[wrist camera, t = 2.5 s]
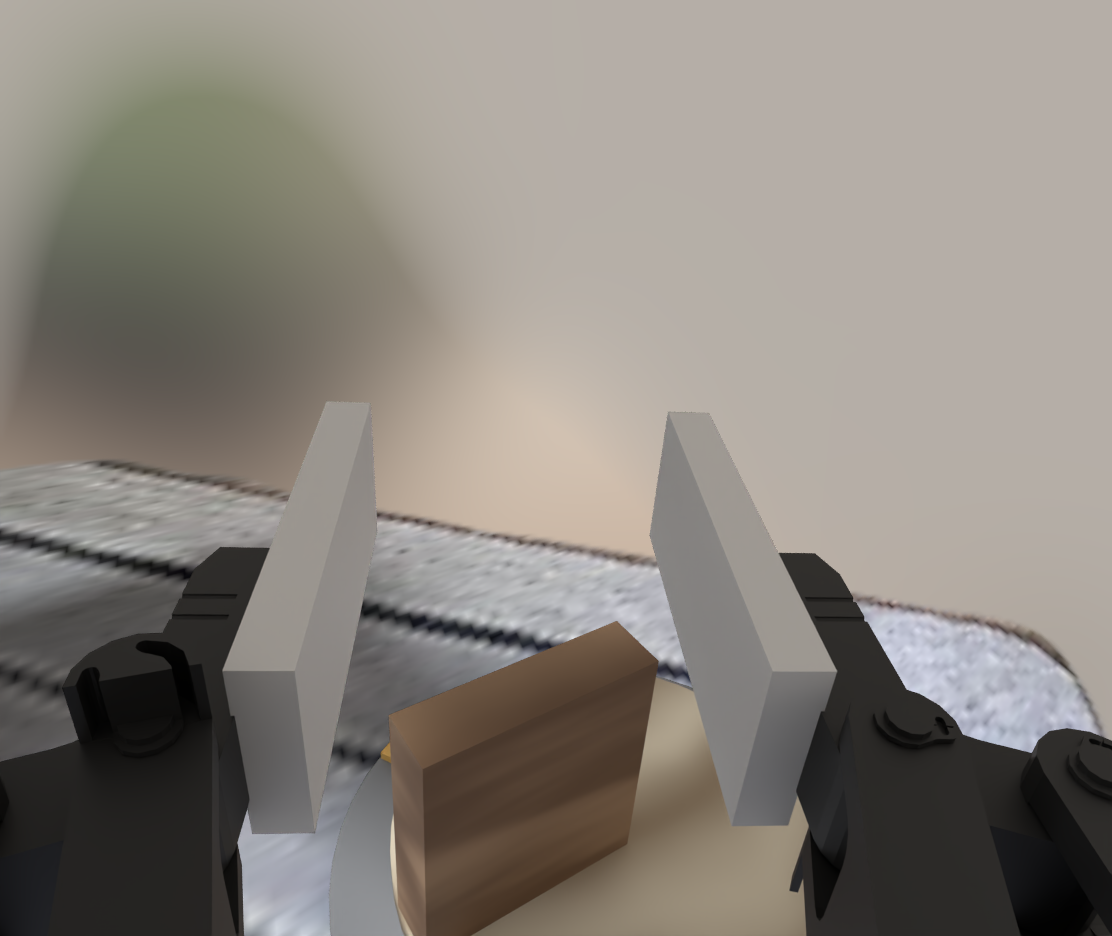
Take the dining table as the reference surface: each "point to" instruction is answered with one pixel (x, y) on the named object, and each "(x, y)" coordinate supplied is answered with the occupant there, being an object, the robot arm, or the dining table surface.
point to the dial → (577, 808)
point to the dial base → (368, 859)
